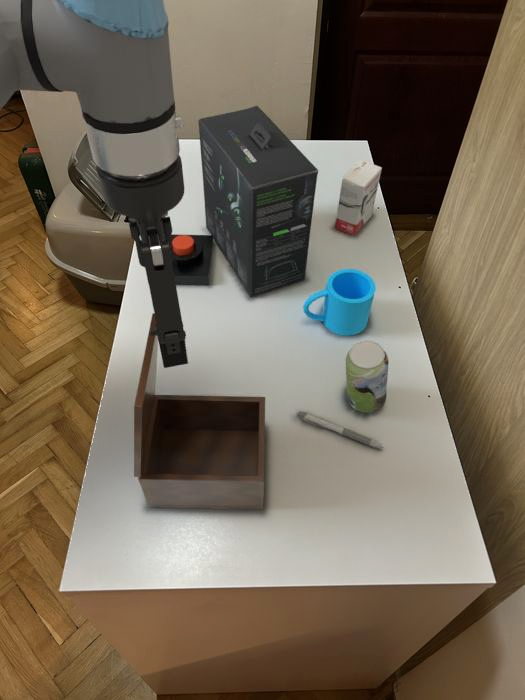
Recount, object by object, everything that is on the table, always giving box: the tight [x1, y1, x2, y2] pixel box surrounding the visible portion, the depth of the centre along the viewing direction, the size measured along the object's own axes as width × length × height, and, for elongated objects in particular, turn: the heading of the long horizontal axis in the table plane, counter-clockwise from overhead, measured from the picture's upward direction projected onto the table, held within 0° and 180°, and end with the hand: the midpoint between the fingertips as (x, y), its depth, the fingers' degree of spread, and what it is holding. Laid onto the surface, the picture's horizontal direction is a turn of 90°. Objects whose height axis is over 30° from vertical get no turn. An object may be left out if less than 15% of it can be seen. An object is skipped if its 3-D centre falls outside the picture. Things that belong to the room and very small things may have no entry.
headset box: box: [197, 105, 319, 298], centre depth 95 cm, size 22×12×26 cm, turn 26°
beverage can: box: [345, 340, 389, 413], centre depth 79 cm, size 6×7×12 cm
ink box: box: [334, 159, 383, 236], centre depth 108 cm, size 9×5×12 cm, turn 147°
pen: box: [295, 410, 385, 449], centre depth 80 cm, size 1×14×1 cm, turn 64°
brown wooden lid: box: [133, 312, 159, 478], centre depth 63 cm, size 16×13×1 cm
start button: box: [172, 234, 194, 255], centre depth 100 cm, size 4×4×2 cm
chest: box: [137, 394, 266, 511], centre depth 73 cm, size 16×13×9 cm
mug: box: [302, 268, 377, 337], centre depth 91 cm, size 12×8×8 cm
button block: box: [165, 233, 215, 286], centre depth 102 cm, size 10×12×4 cm
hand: (166, 319), depth 63 cm, fingers open, 13 cm apart
